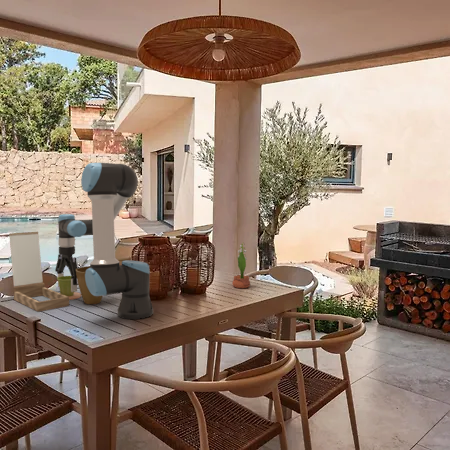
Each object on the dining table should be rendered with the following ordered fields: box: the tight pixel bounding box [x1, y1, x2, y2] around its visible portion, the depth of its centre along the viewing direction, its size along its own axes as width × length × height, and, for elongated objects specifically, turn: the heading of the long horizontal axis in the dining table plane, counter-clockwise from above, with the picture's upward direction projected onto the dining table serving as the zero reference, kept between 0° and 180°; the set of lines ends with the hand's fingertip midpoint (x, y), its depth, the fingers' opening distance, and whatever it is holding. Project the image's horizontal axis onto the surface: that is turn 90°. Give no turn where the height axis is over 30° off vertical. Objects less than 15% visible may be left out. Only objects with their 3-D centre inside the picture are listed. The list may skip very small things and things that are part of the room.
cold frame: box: [13, 282, 70, 312], centre depth 210 cm, size 26×14×6 cm, turn 46°
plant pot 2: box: [76, 265, 104, 305], centre depth 212 cm, size 15×15×16 cm
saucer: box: [68, 291, 82, 301], centre depth 222 cm, size 13×13×1 cm
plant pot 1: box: [56, 275, 74, 296], centre depth 221 cm, size 9×9×9 cm
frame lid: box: [8, 231, 44, 287], centre depth 219 cm, size 25×14×1 cm
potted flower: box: [231, 243, 251, 289], centre depth 251 cm, size 12×10×25 cm
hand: (67, 289), depth 221 cm, fingers open, 13 cm apart
